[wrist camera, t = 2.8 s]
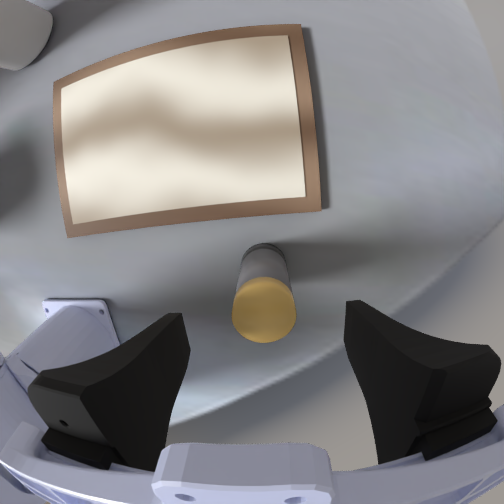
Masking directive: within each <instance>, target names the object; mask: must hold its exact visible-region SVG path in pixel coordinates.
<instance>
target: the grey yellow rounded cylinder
mask: <svg viewBox="0 0 504 504" xmlns="http://www.w3.org/2000/svg"><path fill="white" fill-rule="evenodd" d="M295 321H296V308H295V303H294V299H293V294H292V289H291V285H290V280H289V275H288V271H287V266H286V262H285V258H284V255H283V254H282V252H281V251H280V250H279V249H278V248H277V247H275V246H273V245H271V244H265V243H262V244H257V245H254V246H252V247H251V248H249V249H248V250H247V251H246V252H245V254H244V256H243V259H242V263H241V268H240V273H239V278H238V283H237V288H236V293H235V298H234V303H233V308H232V322H233V325H234V327H235V329H236V330H237V331H238V332H239V333H240V334H241V335H242V336H243V337H245V338H246V339H249V340H251V341H254V342H259V343H268V342H274V341H277V340H279V339H281V338H283V337H284V336H286V335H287V334H288V333H289V332H290V331H291V330H292V328H293V326H294V324H295Z"/></svg>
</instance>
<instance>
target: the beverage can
mask: <svg viewBox="0 0 504 504" xmlns="http://www.w3.org/2000/svg"><path fill="white" fill-rule="evenodd" d="M52 25H53V17H52V15H51V13H50V12H48V11H46V10H44V9H43V8H41V7H39V6H37V5H35V4H32V3H30V2H28V1H26V0H0V68H5V69H9V70H15V71H16V70H20V69H23V68H24V67H26V66H27V65H28V64H30V63H31V62H32V61H33V60H34V59H35V58H36V57H37V56H38V55H39V54H40V53H41V51H42V50H43V48H44V47H45V45H46V43H47V41H48V39H49V36H50V33H51V29H52Z"/></svg>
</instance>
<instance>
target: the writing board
mask: <svg viewBox="0 0 504 504" xmlns="http://www.w3.org/2000/svg"><path fill="white" fill-rule="evenodd" d="M53 130H54V148H55V160H56V170H57V179H58V187H59V194H60V201H61V207H62V213H63V218H64V223H65V228H66V233H67V238H72V237H78V236H85V235H92V234H99V233H107V232H114V231H121V230H129V229H137V228H145V227H154V226H162V225H171V224H180V223H189V222H198V221H208V220H218V219H229V218H240V217H251V216H263V215H275V214H288V213H302V212H316V211H321V192H320V176H319V162H318V150H317V139H316V129H315V119H314V110H313V101H312V93H311V86H310V78H309V71H308V64H307V58H306V52H305V46H304V40H303V34H302V28H301V24H279V25H260V26H248V27H238V28H229V29H222V30H215V31H209V32H203V33H198V34H192V35H187V36H183V37H178V38H174V39H170V40H165V41H162V42H158V43H154V44H150V45H147V46H143V47H140V48H137V49H134V50H131V51H127V52H124V53H122V54H119V55H116V56H113V57H110V58H108V59H105V60H102V61H100V62H97V63H95V64H92V65H90V66H88V67H85V68H83V69H81V70H78V71H76V72H74V73H72V74H70V75H67V76H65V77H63V78H61V79H59V80H57V81H55V82H54V85H53Z"/></svg>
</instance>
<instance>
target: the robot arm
mask: <svg viewBox="0 0 504 504" xmlns="http://www.w3.org/2000/svg"><path fill="white" fill-rule="evenodd" d="M42 306H43V309H44V311H45V314H46V317H47V320H46V321H45V322H44V323H43V324H41V325H40V326H39V327H38V328H37V329H36V330H35V331H34V332H33V333H31V334H30V335H29V336H28V337H27V338H26V339H25V340H24V341H23V342H22V343H21V344H20V345H19V346H17V347H16V348H15V349H14V350H13V351H12V352H11V353H10V354H9V355H8V356H7V357H5V358H4V357H3V355H2V353H1V352H0V504H45V503H46V502H47V501H48V502H50V503H51V504H468V503H470V502H471V501H473V500H475V499H476V498H478V497H480V496H481V495H483V494H485V493H486V492H488V491H489V490H491V489H492V488H494V487H495V486H497V485H498V484H500V483H501V482H503V481H504V404H503V405H502V406H500V407H499V408H497V409H496V410H495V411H494V412H493V413H492V411H491V410H490V408H489V407H490V406H491V404H492V402H491V400H490V399H489V398H488V396H489V394H490V392H491V390H492V388H493V386H494V384H495V382H496V380H497V378H498V375H499V372H500V368H501V360H500V358H499V357H498V355H497V354H496V353H495V352H494V351H493V350H492V349H491V348H490V346H489V345H480V344H465V343H460V342H453V341H448V340H444V339H440V338H436V337H433V336H430V335H427V334H424V333H421V332H419V331H416V330H414V329H411V328H409V327H407V326H405V325H403V324H401V323H399V322H397V321H395V320H393V319H391V318H390V317H388V316H386V315H385V314H383V313H381V312H380V311H378V310H376V309H375V308H373V307H371V306H370V305H368V304H366V303H365V302H363V301H361V300H354V301H346V315H345V330H344V343H345V347H346V351H347V355H348V358H349V361H350V363H351V366H352V368H353V370H354V373H355V375H356V377H357V380H358V382H359V385H360V387H361V389H362V392H363V394H364V397H365V400H366V403H367V407H368V411H369V415H370V419H371V424H372V429H373V433H374V439H375V444H376V450H377V457H378V465H376V466H372V467H367V468H363V469H358V470H353V471H332V469H331V463H330V458H329V455H328V453H327V451H326V450H325V449H322V448H319V447H316V446H314V445H312V444H309V443H290V442H288V443H272V444H210V443H193V442H189V443H174V444H171V445H169V446H168V447H166V448H165V444H166V437H167V432H168V427H169V422H170V417H171V413H172V409H173V406H174V403H175V400H176V397H177V395H178V392H179V389H180V386H181V384H182V381H183V378H184V375H185V372H186V369H187V366H188V361H189V356H190V346H189V342H188V338H187V334H186V330H185V326H184V321H183V317H182V313H168V314H167V315H165V316H163V317H162V318H160V319H159V320H157V321H156V322H155V323H153V324H152V325H150V326H149V327H147V328H146V329H145V330H143V331H142V332H140V333H139V334H137V335H136V336H134V337H133V338H131V339H129V340H128V341H126V342H125V343H123V344H121V345H120V343H119V340H118V338H117V335H116V332H115V329H114V326H113V323H112V320H111V317H110V314H109V311H108V308H107V305H106V303H105V302H104V301H103V300H50V299H45V300H44V301H43V302H42ZM102 310H103V311H104V313H103V312H102Z"/></svg>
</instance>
